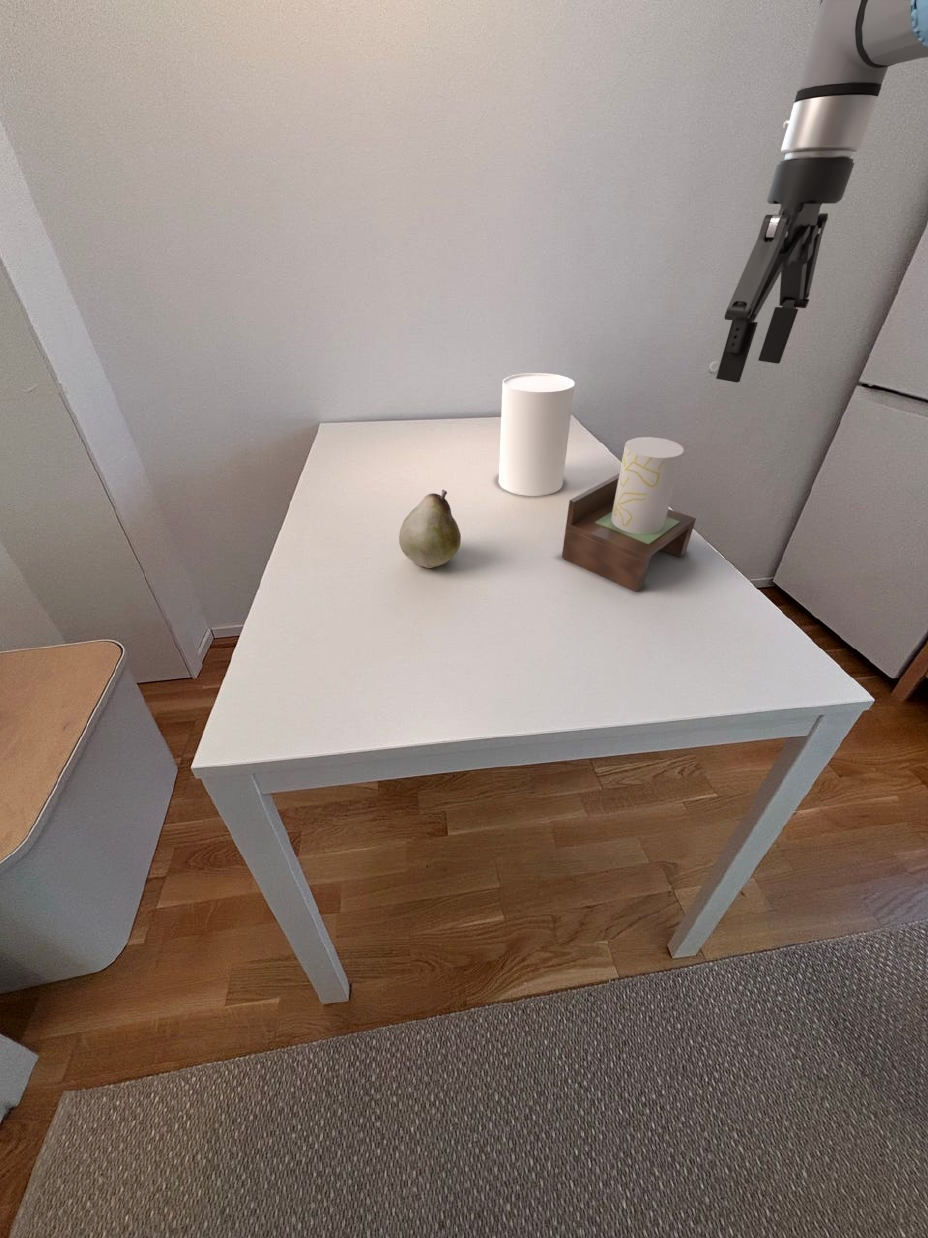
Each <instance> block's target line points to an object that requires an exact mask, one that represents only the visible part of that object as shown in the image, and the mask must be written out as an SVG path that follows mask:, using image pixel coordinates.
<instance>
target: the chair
mask: <svg viewBox="0 0 928 1238" xmlns="http://www.w3.org/2000/svg"><path fill="white" fill-rule="evenodd" d="M619 474H620V472H619V473H618V474H617V473H616V474H615V475H614V476H612V477H610V478H608V479H606V480H604V481H602V482H601V483H599V484H597V485H595V486H594V487H591V488H589V489H588V490H586V491H584V492H581V493H580V494H579V495H576V496H575V497H572V498H571V499H569V500H568V509H567V515H566V523H565V529H564V537H563V538H564V539H563V545H562V554H561V559H563V560H565V561H567V562H569V563H572V564H574V565H576V566H578V567H580V568H583V569H585V570H587V571H589V572H592V573H593V574H595V575H598V576H601V577H602V578H604V579H606V580H609V581H611V582H613V583H615V584H617V585H619V586H622V587H623V588H626V589H628V590H631V591H633V592H635V593H637V592H639V591H640V590H641V589H642V588H643V587H644V585H645V580H646V576H647V573H648V569H649V566H650V561H651V558H652V556H654V555H655V554H656V553H657V552H659V551H663V552H665V553H668V554H670V555H674V556H676V557H678V558H681V557H682V556H684V555H685V554H686V553H687V549H688V546H689V543H690V540H691V537H692V534H693V530H694V527H695V524H696V520H697V518H696V517H693V516H691V515H688V514H685V513H682V512H679V511H676V510H673V509H670V508H669V509H668V512H667V516H666V520H665V524H664V527H663V529H662V530H660V531H659V532H656V533H653V534H635V533H630V532H626V531H623V530H621V529H619V528H617V527H616V526H615V525H614V524H613V523H612V521H611V516H612V511H613V506H614V501H615V495H616V490H617V485H618V480H619Z"/></svg>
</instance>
